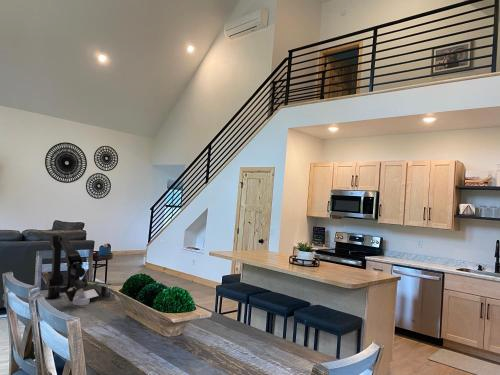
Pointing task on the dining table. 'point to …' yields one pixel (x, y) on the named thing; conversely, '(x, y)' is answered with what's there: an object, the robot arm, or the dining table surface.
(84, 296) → the wedge on round base
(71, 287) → the robot arm
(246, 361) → the dining table surface
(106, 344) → the dining table surface
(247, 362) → the dining table surface
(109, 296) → the gauge housing
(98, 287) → the gauge plunger
